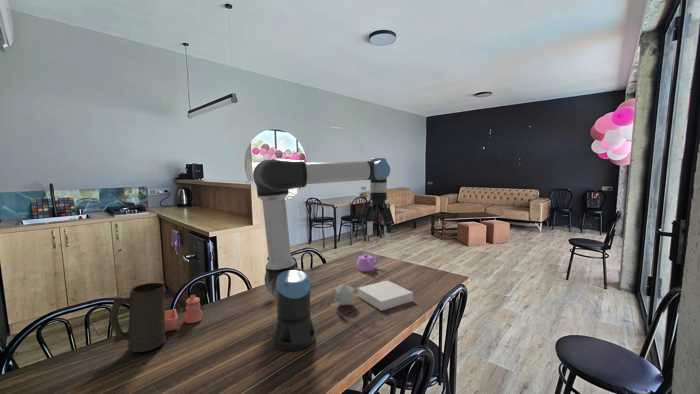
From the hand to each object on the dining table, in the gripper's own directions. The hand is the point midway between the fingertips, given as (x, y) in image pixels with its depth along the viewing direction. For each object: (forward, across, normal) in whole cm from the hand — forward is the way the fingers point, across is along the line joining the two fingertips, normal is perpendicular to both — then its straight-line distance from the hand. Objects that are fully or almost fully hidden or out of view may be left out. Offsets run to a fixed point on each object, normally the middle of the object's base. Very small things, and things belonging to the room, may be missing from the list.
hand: (378, 237), depth 138 cm
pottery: (+29, +19, +82) cm, 89 cm away
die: (+28, 0, +18) cm, 34 cm away
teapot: (+28, +33, -18) cm, 47 cm away
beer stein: (+29, +8, +92) cm, 97 cm away
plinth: (+28, -4, -1) cm, 28 cm away
